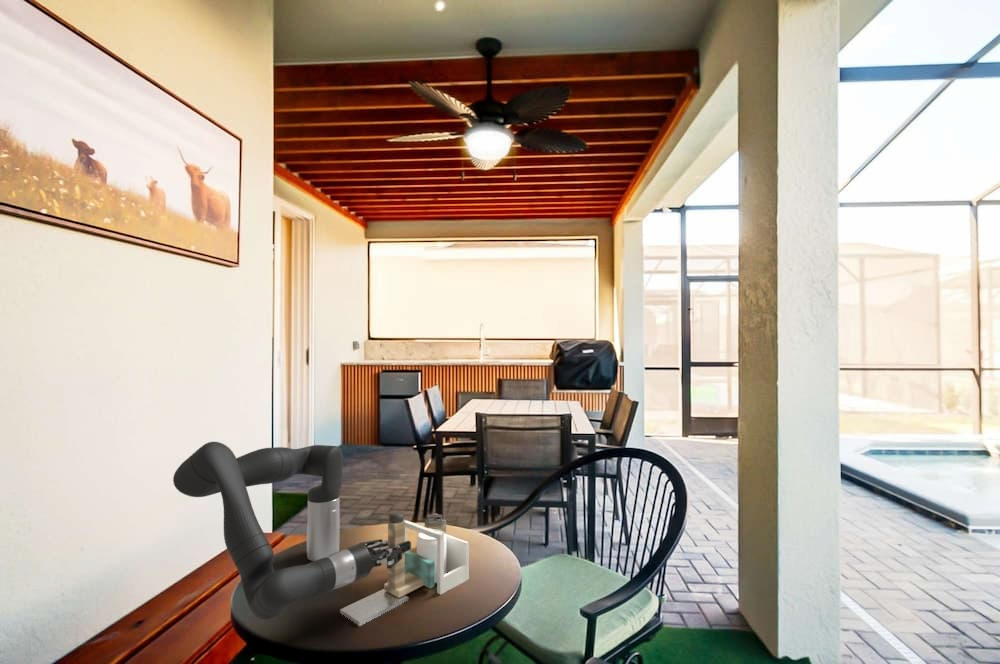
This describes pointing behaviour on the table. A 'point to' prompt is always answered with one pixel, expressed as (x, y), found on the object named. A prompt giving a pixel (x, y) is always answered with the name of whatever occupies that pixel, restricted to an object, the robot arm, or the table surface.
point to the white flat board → (372, 606)
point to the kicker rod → (406, 563)
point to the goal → (447, 558)
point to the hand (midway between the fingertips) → (405, 543)
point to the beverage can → (430, 550)
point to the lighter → (436, 523)
